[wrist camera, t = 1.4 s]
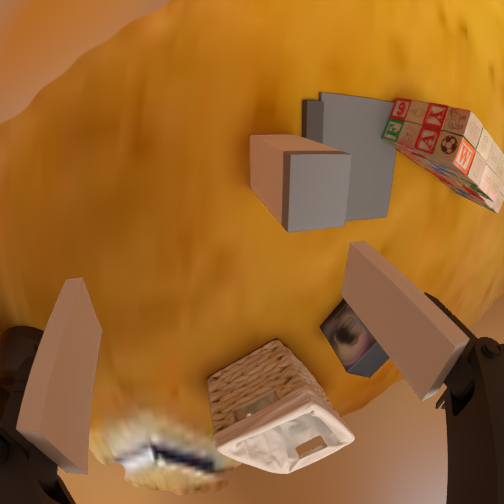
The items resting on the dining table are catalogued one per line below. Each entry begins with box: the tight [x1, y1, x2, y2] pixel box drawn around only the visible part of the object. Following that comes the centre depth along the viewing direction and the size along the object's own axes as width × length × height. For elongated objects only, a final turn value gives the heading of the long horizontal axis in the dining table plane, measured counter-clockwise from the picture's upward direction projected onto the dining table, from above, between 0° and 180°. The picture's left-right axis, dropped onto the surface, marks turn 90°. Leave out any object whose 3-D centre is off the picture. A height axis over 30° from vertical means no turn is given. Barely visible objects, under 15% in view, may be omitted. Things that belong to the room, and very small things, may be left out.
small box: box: [320, 299, 390, 377], centre depth 42 cm, size 11×6×10 cm, turn 145°
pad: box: [302, 93, 396, 221], centre depth 34 cm, size 14×16×1 cm
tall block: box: [250, 134, 352, 233], centre depth 27 cm, size 5×6×12 cm
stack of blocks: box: [382, 98, 504, 214], centre depth 31 cm, size 21×6×12 cm, turn 68°
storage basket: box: [207, 340, 355, 474], centre depth 45 cm, size 24×16×15 cm
